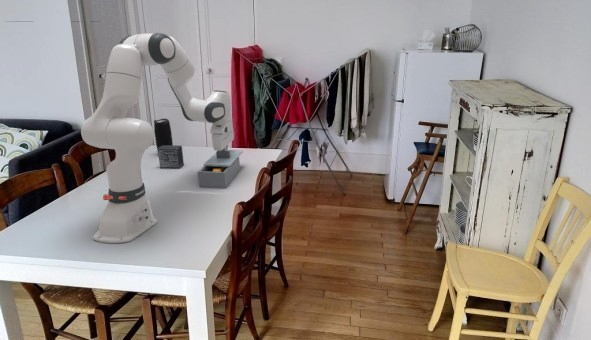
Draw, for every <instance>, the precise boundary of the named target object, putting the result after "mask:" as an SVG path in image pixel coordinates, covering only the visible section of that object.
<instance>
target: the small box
mask: <svg viewBox="0 0 591 340" xmlns="http://www.w3.org/2000/svg"><path fill="white" fill-rule="evenodd" d="M183 154H184V153H183V146H182V145H173V146H170V145H162V146H161V147H159V148H158V151H157V155H158V161H159V167H160V169H181V168H182V167H183V166H184V165H185V161H184V155H183Z"/></svg>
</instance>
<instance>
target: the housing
mask: <svg viewBox="0 0 591 340" xmlns="http://www.w3.org/2000/svg"><path fill="white" fill-rule="evenodd" d="M214 168H219V166H204V165H203V166H202V167H201V168H200V169H199V170H198V171H197V176H198V177H197V179H198V187H199V188H210V189H211V188H213V189H227V188H228V187H229V185H230V184H231V182H233V180H235V178H236V176H237V175H238V174H239V173H240V172H241V165H240V156H239V157H238V158H237V159H236V160H235V161H234V163H233V164H232V165H231V166H230V167H227V168H226V170H225V171H224V172H213V169H214Z"/></svg>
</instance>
